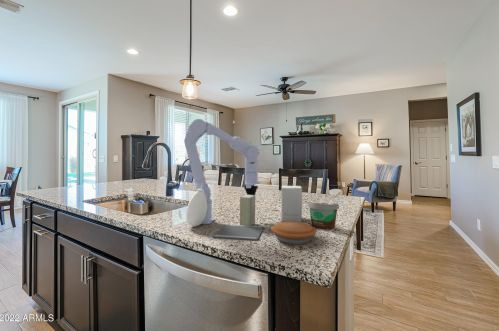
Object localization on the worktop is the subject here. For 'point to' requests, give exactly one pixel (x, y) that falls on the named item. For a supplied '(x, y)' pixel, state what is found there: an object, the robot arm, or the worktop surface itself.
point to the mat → (239, 232)
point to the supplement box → (292, 203)
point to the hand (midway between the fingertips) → (251, 202)
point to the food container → (323, 215)
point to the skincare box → (247, 210)
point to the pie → (294, 232)
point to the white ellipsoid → (197, 208)
